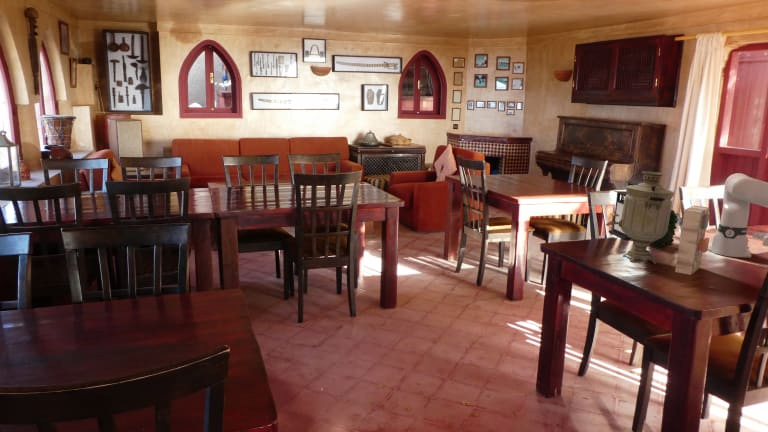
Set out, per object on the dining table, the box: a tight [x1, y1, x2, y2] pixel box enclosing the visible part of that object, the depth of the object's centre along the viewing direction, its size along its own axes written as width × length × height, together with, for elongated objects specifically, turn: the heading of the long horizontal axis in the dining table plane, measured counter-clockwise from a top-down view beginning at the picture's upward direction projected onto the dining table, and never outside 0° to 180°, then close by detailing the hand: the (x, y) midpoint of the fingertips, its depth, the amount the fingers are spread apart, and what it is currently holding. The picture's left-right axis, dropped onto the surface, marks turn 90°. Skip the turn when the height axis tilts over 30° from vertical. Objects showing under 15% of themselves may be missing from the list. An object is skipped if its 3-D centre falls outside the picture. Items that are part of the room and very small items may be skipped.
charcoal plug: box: [681, 213, 710, 230], centre depth 239 cm, size 6×9×6 cm, turn 49°
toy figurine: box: [652, 209, 678, 249], centre depth 284 cm, size 9×19×25 cm
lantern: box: [608, 172, 643, 241], centre depth 301 cm, size 17×17×35 cm
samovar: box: [605, 171, 675, 265], centre depth 254 cm, size 30×26×40 cm
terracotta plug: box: [698, 237, 710, 254], centre depth 240 cm, size 6×9×6 cm, turn 49°
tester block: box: [674, 205, 710, 276], centre depth 241 cm, size 16×6×27 cm, turn 139°
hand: (753, 234), depth 227 cm, fingers closed
